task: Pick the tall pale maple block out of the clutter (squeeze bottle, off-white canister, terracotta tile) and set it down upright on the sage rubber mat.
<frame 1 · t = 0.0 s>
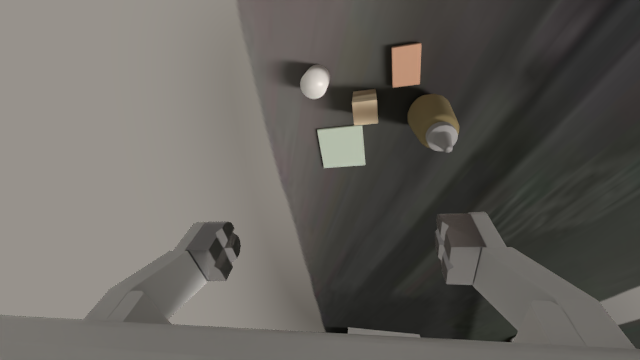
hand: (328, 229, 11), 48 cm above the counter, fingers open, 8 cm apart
canister: (317, 77, 54), on the counter
squeeze bottle: (425, 108, 55), on the counter
maple block: (364, 101, 55), on the counter
box: (380, 350, 115), on the counter
mat: (342, 146, 62), on the counter
terracotta tile: (404, 64, 51), on the counter
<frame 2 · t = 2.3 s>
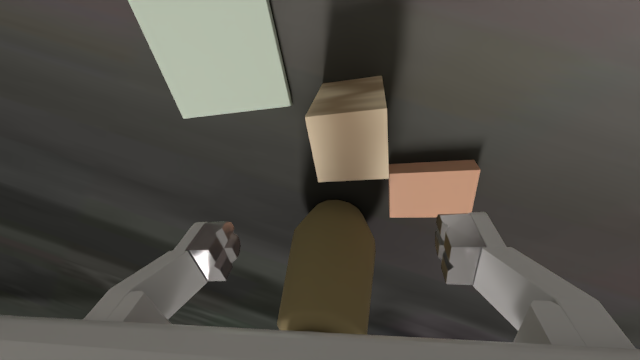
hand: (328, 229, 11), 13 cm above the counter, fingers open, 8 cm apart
squeeze bottle: (337, 218, 29), on the counter
maple block: (354, 108, 21), on the counter
mat: (215, 46, 20), on the counter
terracotta tile: (427, 182, 25), on the counter
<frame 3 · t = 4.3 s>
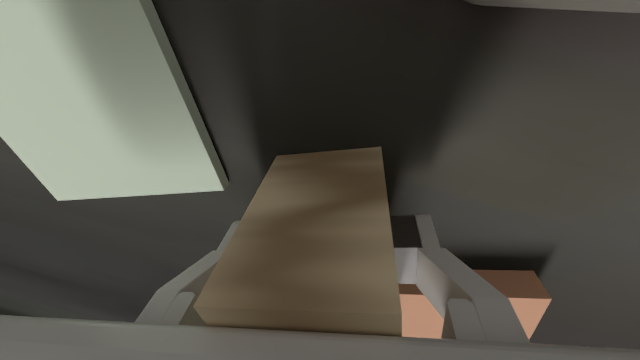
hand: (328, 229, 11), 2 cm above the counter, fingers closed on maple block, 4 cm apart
maple block: (333, 193, 12), on the counter, touching gripper
mat: (80, 93, 11), on the counter
terracotta tile: (451, 290, 16), on the counter
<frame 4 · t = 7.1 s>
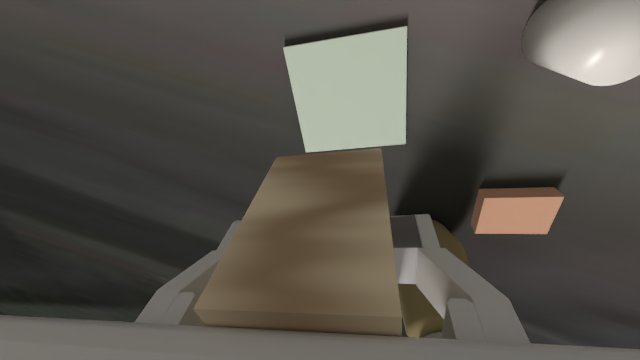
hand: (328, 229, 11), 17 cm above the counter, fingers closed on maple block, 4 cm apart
canister: (560, 29, 20), on the counter
squeeze bottle: (420, 233, 33), on the counter
maple block: (333, 195, 12), point 15 cm above the counter, touching gripper
mat: (349, 97, 24), on the counter
terracotta tile: (507, 204, 29), on the counter
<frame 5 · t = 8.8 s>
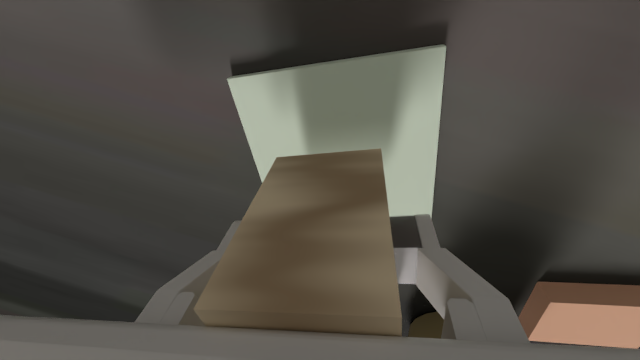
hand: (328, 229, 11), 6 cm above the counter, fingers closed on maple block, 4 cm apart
squeeze bottle: (443, 324, 24), on the counter
maple block: (333, 195, 12), point 3 cm above the counter, touching gripper
mat: (341, 154, 15), on the counter
terracotta tile: (576, 299, 20), on the counter
when the fingers open (4 cm above the counter, at t = 10.1 s): maple block stays where it is, resting on mat.
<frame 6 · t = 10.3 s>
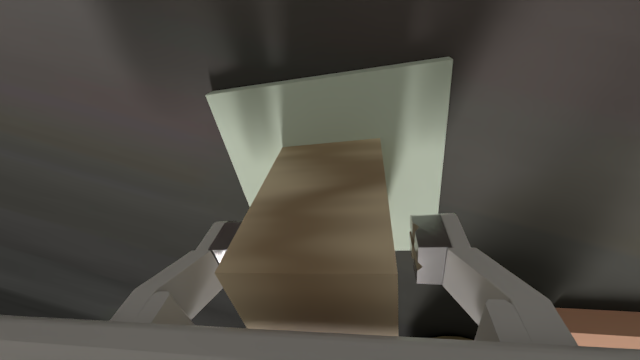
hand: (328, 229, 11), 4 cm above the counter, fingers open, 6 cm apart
maple block: (336, 183, 13), point 1 cm above the counter, touching mat
mat: (335, 175, 14), on the counter
terracotta tile: (590, 325, 18), on the counter
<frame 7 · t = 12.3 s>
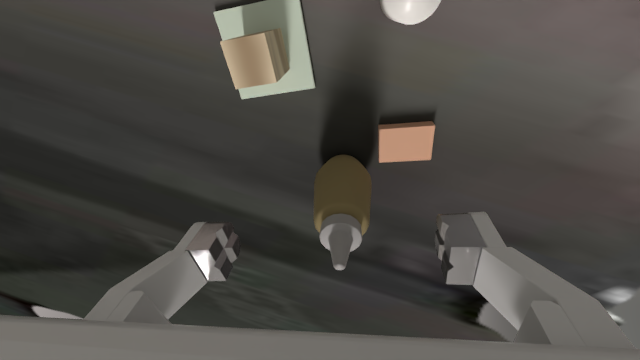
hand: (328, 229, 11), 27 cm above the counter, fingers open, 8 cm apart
squeeze bottle: (343, 170, 41), on the counter
maple block: (267, 52, 32), point 1 cm above the counter, touching mat
mat: (268, 51, 32), on the counter
terracotta tile: (403, 138, 37), on the counter
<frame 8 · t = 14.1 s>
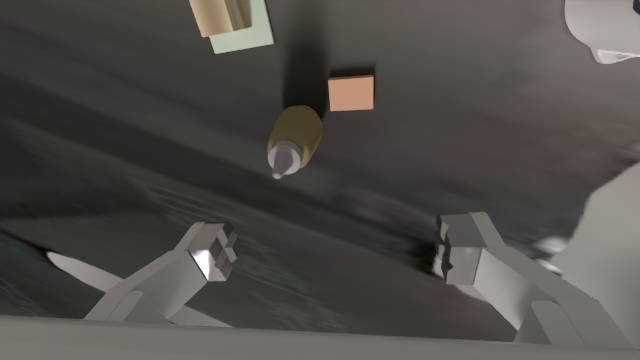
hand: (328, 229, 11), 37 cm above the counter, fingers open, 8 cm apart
squeeze bottle: (303, 120, 48), on the counter
maple block: (233, 12, 39), point 1 cm above the counter, touching mat
mat: (234, 11, 40), on the counter
terracotta tile: (351, 91, 44), on the counter
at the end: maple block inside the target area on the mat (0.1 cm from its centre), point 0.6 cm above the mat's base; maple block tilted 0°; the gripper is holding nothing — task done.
